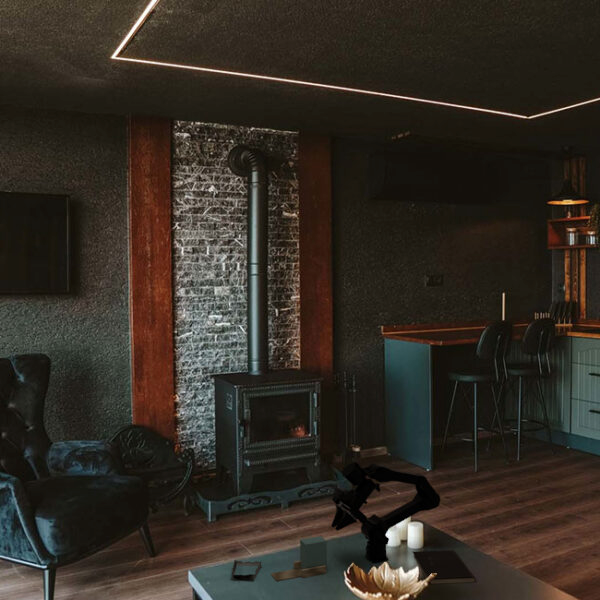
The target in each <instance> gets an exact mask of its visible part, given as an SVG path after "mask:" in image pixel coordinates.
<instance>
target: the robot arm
mask: <svg viewBox="0 0 600 600" xmlns="http://www.w3.org/2000/svg"><path fill="white" fill-rule="evenodd" d="M341 475H342V477H343V478H345V479H346V481H347V482H349V483H350V484H351V485H352V486H354V487H355V488H354V489H352V488H351V489H349V490H348V489H342V488H340V487H336V488H335V490H334V492H333V494H332V495H333V497H332V498H331V501H333V503H334V504H335V510H336V511H335V514H334V517H333V520H332V521H331V525H330V526H331V528H334V529H335V531H340V530H343V528H347V527H348V526H350V525H352V524H355V523H358V521H359V523H360V524H361V526H360V532H361V534H362V535H363V536H364V538H365V539H366V540H367V541H366V546H365V554H364V557H365V558H366V557H367V558H366V559H368V560H369V561H370V562H371V563H374V564H375V563H380V562H384V561H389V557H387V546H388V544H389V541H390V538H389V537H387V535H386V534H387V533H388V531H389V530H390V529H391V528H393V527H395V526H396V525H398V524H400V523H402V522H403V521H405V520H407V519H409V518H411V517H412V516H414V515H416V514H418V513H419V512H424V511H431V510H433V509H436V508H438V507H439V506H440V504H441V496H440V494H439V493H437V492H436V490H435V488H434V487H433V486H432V485H431V484H430V481H429V480H428V478H427V477H426V476H425V475H423V474H421V473H414V472H409V471H408V472H407V471H403V470H397V469H392V468H390V467H387V466H385V465H383V464H379V463H377V462H372V463H371V464H370V465H368V466H365V467H361V465H360V464H359V463H358V462H357V461H355V460H354V461H353V462H352V463H349V464H348V465H346V466H345V467H344V468H343V469H342V471H341ZM367 477H368V478H367ZM374 481H376V482H374ZM389 482H390V483H391V482H399V483H403V484H410V485H414V487H415V491H416V492H417V493H416V494H415V496H414V497H413V498H412V499H411V500H410V501H408V502H406V503H405V504H402V505H401V506H399V507H397V508H396V509H394V510H392V511H390V512H388V513H386V514H385V515H383V516H378V515H376V514H372V515H371V516H369V517H367V515H365V513H363V511H361V510H360V509H361V508H362V507H363V505H367V504H368V501H367V500H368V499H369V498H370V496H372V494H373V492H374V491H376V492H379V493H380V492H381V487H380V484H381V483H389Z"/></svg>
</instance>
